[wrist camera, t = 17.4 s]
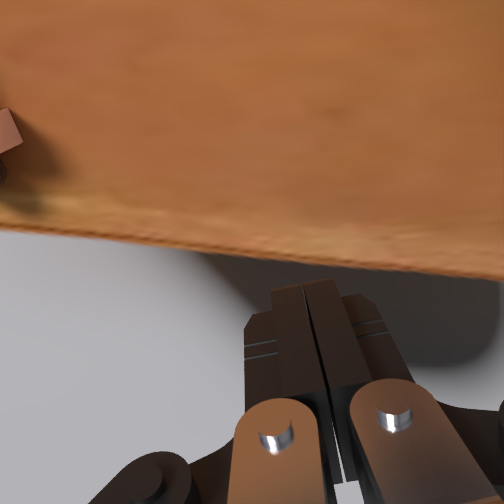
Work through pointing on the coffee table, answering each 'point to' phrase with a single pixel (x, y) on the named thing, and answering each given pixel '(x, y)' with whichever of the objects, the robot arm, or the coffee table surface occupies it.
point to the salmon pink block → (8, 131)
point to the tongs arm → (2, 173)
